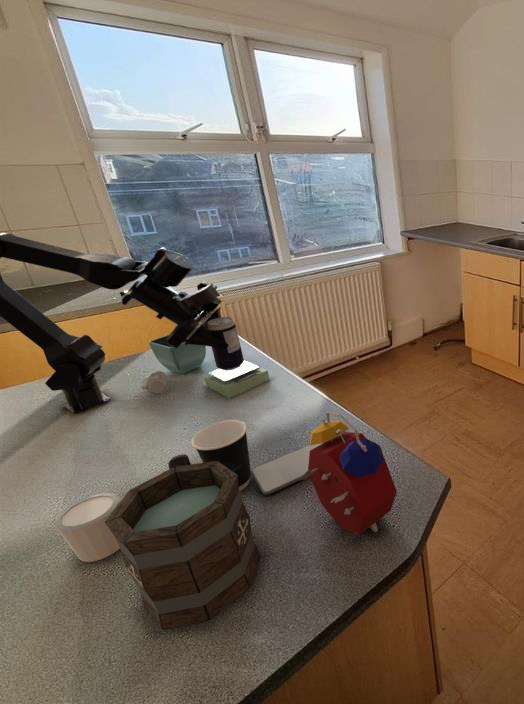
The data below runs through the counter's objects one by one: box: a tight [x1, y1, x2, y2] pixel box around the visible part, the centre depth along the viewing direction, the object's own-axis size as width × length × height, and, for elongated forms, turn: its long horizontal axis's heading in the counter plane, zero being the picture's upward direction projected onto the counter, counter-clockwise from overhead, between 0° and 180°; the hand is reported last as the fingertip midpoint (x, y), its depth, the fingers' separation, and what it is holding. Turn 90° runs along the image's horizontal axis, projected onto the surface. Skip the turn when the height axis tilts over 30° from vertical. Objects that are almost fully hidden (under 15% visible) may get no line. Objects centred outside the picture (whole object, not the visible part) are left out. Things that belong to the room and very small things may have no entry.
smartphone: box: [250, 443, 323, 496], centre depth 81 cm, size 8×1×15 cm
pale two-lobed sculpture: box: [141, 370, 168, 394], centre depth 104 cm, size 4×8×5 cm
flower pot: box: [147, 334, 207, 375], centre depth 112 cm, size 9×9×9 cm
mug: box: [105, 453, 261, 631], centre depth 59 cm, size 20×14×15 cm
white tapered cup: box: [54, 492, 121, 563], centre depth 63 cm, size 7×7×7 cm
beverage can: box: [207, 316, 245, 371], centre depth 102 cm, size 6×6×12 cm
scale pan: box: [207, 360, 261, 383], centre depth 107 cm, size 8×8×1 cm
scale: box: [203, 366, 270, 399], centre depth 107 cm, size 10×10×3 cm
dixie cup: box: [191, 419, 252, 492], centre depth 74 cm, size 8×8×11 cm
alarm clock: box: [301, 410, 398, 536], centre depth 66 cm, size 15×9×20 cm, turn 53°
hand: (231, 341), depth 102 cm, fingers closed on beverage can, 5 cm apart
